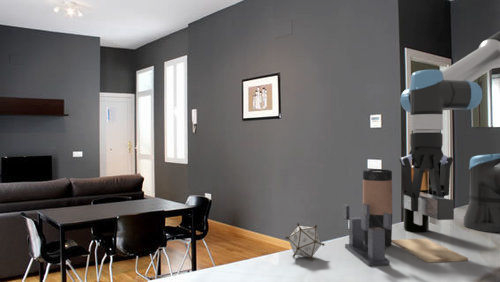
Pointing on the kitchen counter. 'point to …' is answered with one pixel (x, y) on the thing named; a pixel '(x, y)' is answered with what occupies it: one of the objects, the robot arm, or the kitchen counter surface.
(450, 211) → the rail
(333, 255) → the kitchen counter surface
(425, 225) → the battery
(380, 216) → the travel mug
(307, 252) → the game die
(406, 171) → the robot arm
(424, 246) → the board
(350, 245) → the stand
